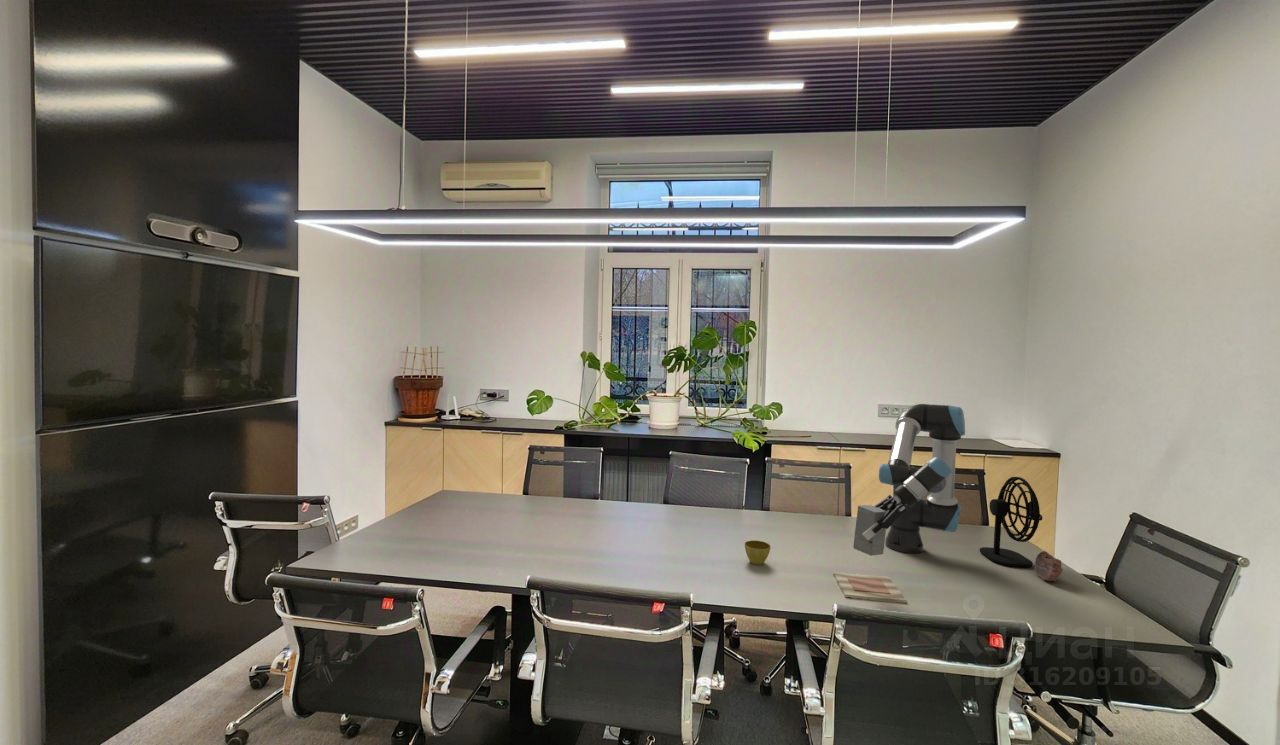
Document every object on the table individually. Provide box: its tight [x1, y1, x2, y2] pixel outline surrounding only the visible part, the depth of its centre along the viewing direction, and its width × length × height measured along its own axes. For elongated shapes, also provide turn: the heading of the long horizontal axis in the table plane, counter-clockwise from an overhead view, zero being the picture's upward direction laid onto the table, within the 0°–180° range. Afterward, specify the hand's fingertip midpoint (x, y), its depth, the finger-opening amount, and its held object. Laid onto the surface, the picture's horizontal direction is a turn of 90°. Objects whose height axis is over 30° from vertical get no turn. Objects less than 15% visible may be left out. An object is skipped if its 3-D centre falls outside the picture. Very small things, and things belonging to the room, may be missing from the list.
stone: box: [1034, 550, 1064, 582], centre depth 213 cm, size 13×8×10 cm
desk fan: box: [979, 476, 1043, 568], centre depth 233 cm, size 27×18×35 cm, turn 173°
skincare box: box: [852, 504, 887, 557], centre depth 197 cm, size 8×7×16 cm
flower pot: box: [744, 540, 772, 566], centre depth 220 cm, size 10×10×7 cm
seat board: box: [832, 571, 907, 604], centre depth 199 cm, size 20×20×1 cm
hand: (861, 532), depth 198 cm, fingers closed on skincare box, 10 cm apart
